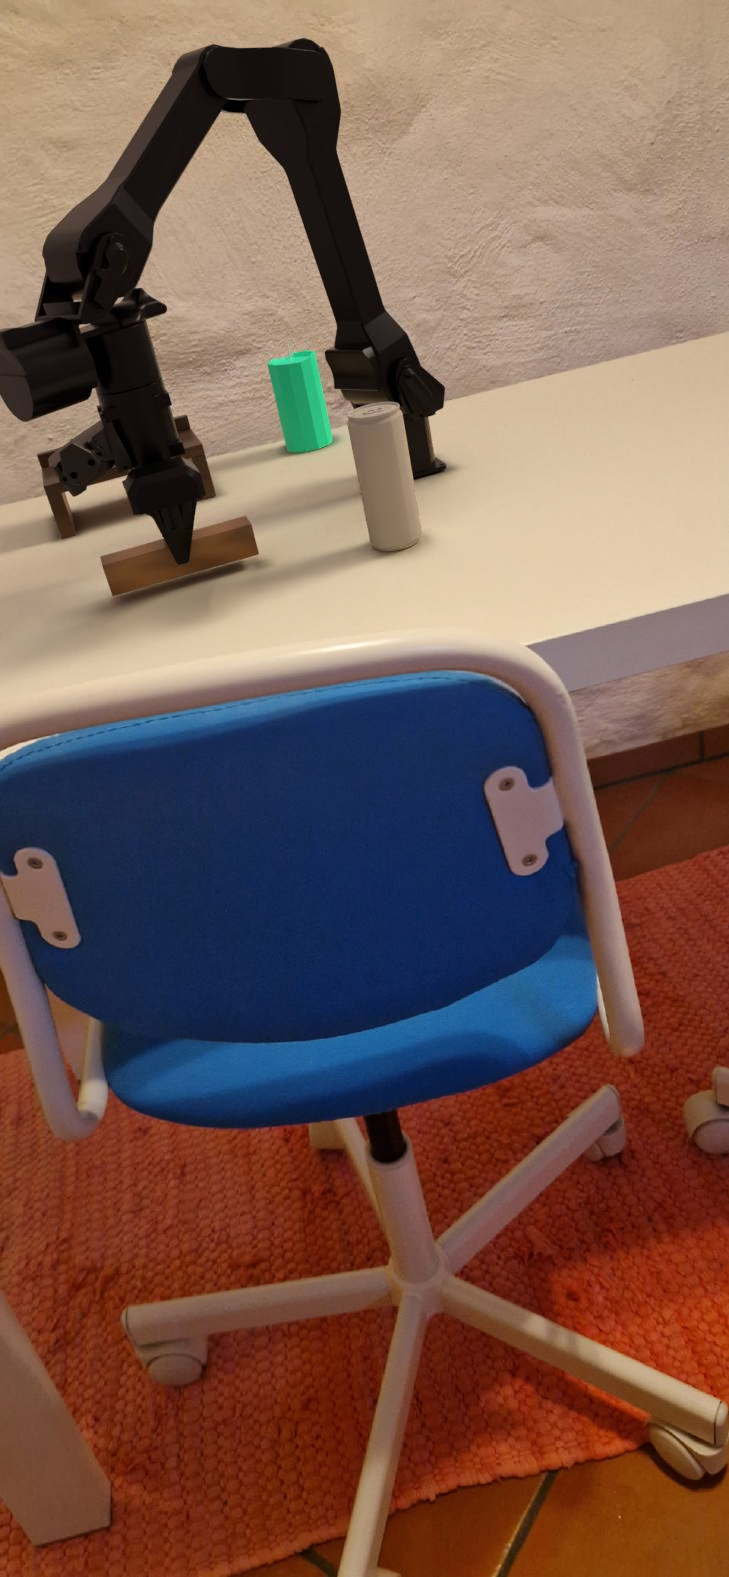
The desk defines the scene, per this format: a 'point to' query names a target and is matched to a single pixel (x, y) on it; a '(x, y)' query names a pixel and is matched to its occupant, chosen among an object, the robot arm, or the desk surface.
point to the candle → (300, 401)
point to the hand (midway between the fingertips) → (180, 558)
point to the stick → (159, 564)
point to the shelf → (57, 490)
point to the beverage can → (385, 475)
